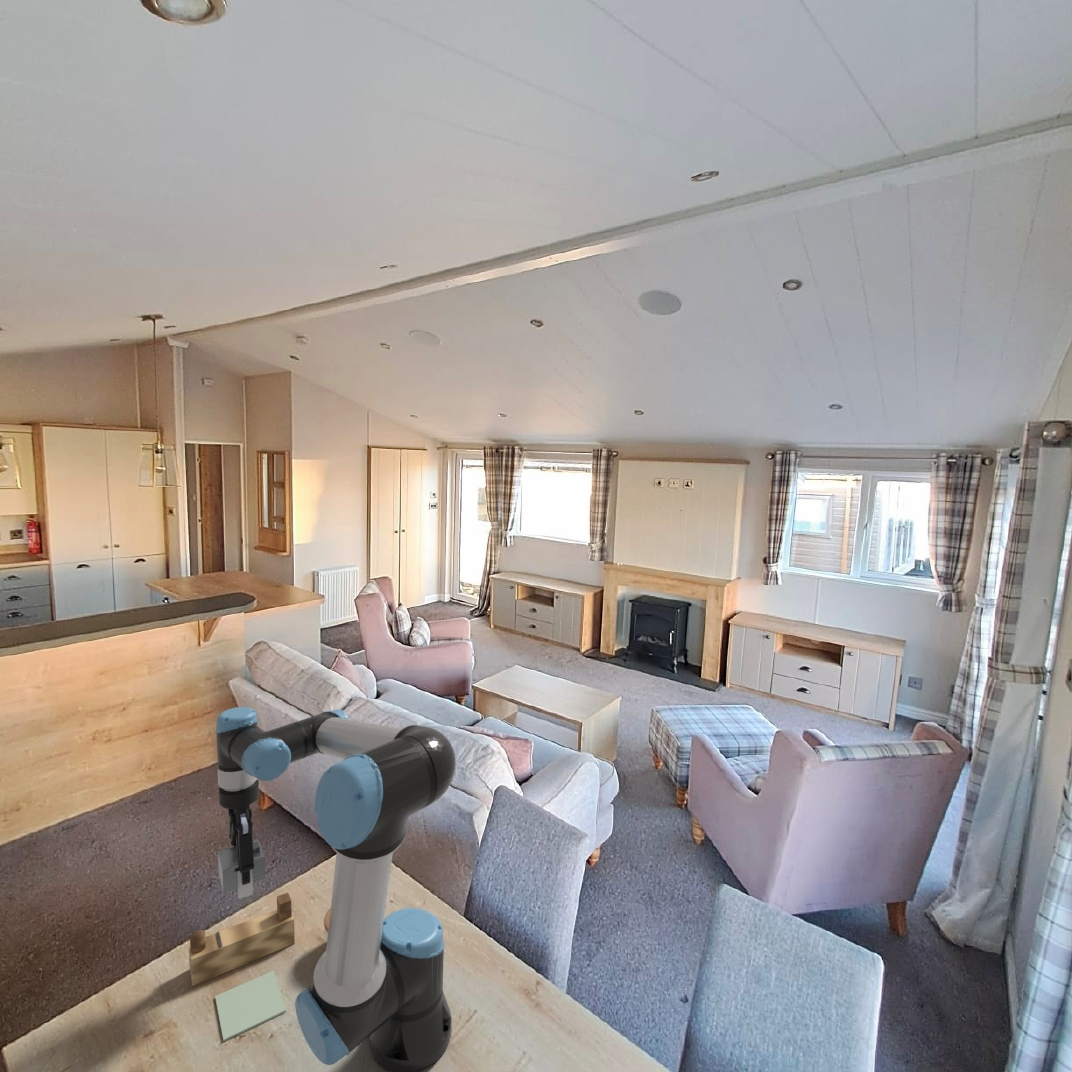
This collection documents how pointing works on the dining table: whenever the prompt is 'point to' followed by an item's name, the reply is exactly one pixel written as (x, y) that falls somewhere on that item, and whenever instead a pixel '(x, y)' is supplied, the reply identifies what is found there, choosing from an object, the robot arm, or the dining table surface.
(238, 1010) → the felt pad
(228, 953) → the plane body
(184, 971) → the dining table surface
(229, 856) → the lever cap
